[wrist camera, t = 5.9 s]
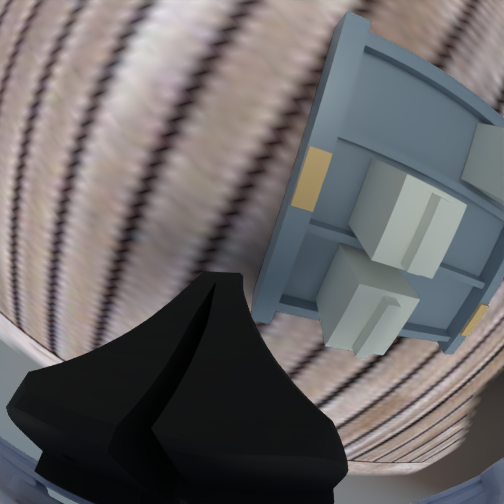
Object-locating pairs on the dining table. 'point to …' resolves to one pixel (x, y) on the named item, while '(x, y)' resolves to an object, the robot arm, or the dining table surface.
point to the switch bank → (399, 156)
